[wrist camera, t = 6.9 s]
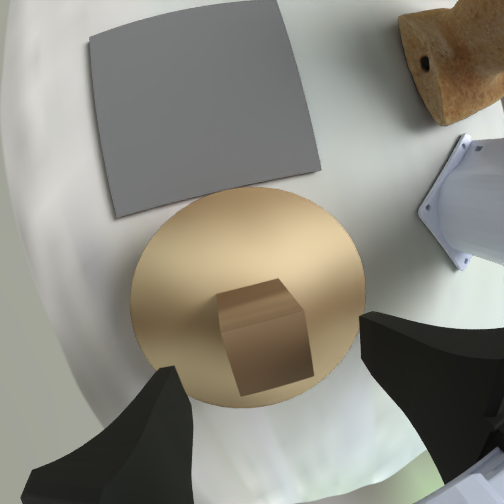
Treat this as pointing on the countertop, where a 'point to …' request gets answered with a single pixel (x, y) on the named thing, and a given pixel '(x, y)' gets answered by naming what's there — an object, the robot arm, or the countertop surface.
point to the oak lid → (248, 296)
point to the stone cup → (456, 57)
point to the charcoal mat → (199, 104)
